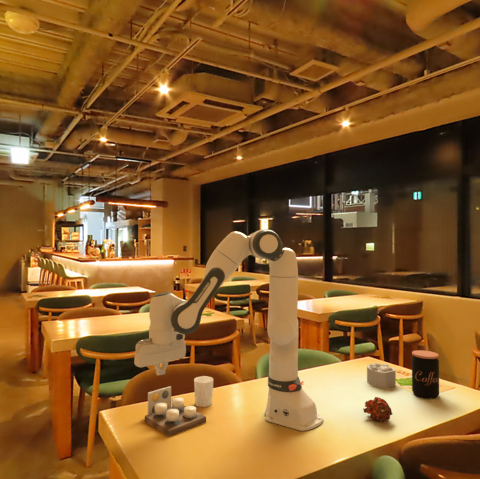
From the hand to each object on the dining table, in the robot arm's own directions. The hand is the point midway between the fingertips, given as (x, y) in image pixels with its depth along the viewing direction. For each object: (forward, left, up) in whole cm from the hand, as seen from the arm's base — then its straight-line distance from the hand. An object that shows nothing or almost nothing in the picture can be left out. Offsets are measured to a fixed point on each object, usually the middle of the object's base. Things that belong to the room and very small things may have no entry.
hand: (160, 374), depth 145 cm
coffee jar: (-57, -98, -18) cm, 115 cm away
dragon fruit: (-54, -60, -18) cm, 82 cm away
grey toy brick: (-36, -98, -18) cm, 106 cm away
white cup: (+2, -22, -18) cm, 28 cm away
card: (+7, -4, -17) cm, 19 cm away
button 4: (0, 0, -14) cm, 14 cm away
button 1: (-8, -8, -15) cm, 18 cm away
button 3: (0, -8, -14) cm, 16 cm away
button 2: (-8, 0, -14) cm, 16 cm away
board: (-4, -4, -17) cm, 18 cm away
